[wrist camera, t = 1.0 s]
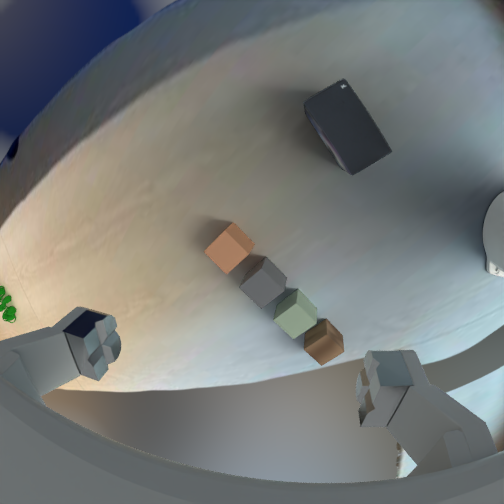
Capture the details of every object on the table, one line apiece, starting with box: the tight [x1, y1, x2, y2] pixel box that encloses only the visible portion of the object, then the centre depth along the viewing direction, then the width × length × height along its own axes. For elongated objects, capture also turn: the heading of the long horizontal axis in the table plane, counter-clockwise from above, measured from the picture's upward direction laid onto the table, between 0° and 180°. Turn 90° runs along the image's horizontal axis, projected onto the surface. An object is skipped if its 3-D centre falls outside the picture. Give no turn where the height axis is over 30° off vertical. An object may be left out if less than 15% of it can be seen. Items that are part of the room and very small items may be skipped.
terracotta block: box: [204, 222, 255, 274], centre depth 46 cm, size 5×5×5 cm
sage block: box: [273, 289, 317, 339], centre depth 47 cm, size 5×5×5 cm
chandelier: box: [0, 286, 16, 323], centre depth 70 cm, size 15×15×7 cm
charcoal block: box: [239, 257, 287, 309], centre depth 47 cm, size 5×5×5 cm
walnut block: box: [304, 319, 344, 366], centre depth 48 cm, size 5×5×5 cm
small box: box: [303, 78, 392, 175], centre depth 34 cm, size 11×6×10 cm, turn 35°
